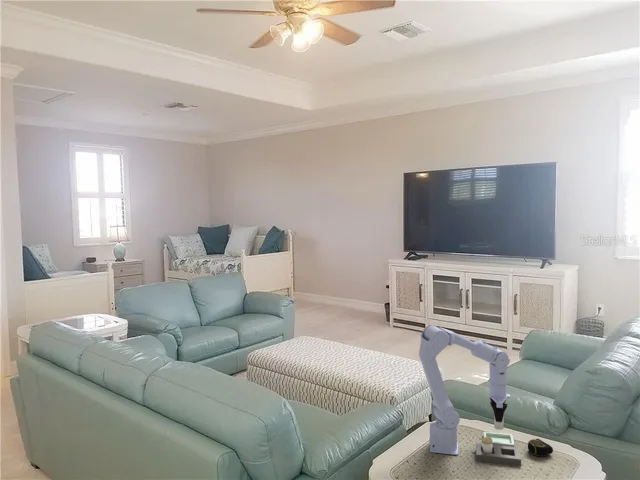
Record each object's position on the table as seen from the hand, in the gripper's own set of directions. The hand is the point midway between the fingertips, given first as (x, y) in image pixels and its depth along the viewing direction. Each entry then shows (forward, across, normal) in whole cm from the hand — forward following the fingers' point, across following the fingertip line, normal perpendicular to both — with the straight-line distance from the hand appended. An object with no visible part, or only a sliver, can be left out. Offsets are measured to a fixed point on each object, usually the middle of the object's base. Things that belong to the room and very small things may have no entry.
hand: (498, 419), depth 174 cm
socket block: (+8, -11, +1) cm, 14 cm away
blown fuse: (+3, 0, 0) cm, 3 cm away
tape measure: (+9, -4, -13) cm, 16 cm away
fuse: (+9, -11, +4) cm, 15 cm away
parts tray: (+9, 0, 0) cm, 9 cm away
